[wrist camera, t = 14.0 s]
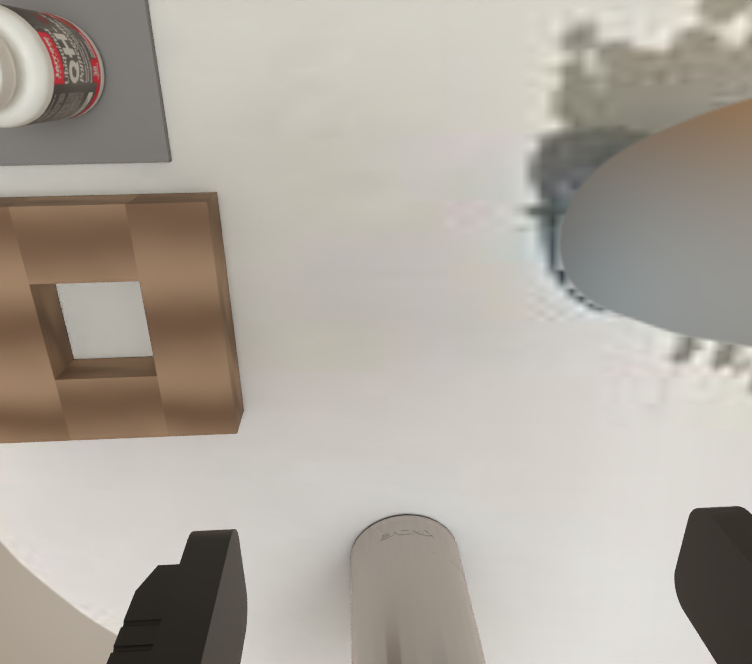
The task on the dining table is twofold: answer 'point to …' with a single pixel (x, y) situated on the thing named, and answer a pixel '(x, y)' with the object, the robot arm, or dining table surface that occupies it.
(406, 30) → the dining table surface
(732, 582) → the robot arm
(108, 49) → the charcoal mat
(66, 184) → the dining table surface
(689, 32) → the dining table surface
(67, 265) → the walnut dock
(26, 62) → the pill bottle
